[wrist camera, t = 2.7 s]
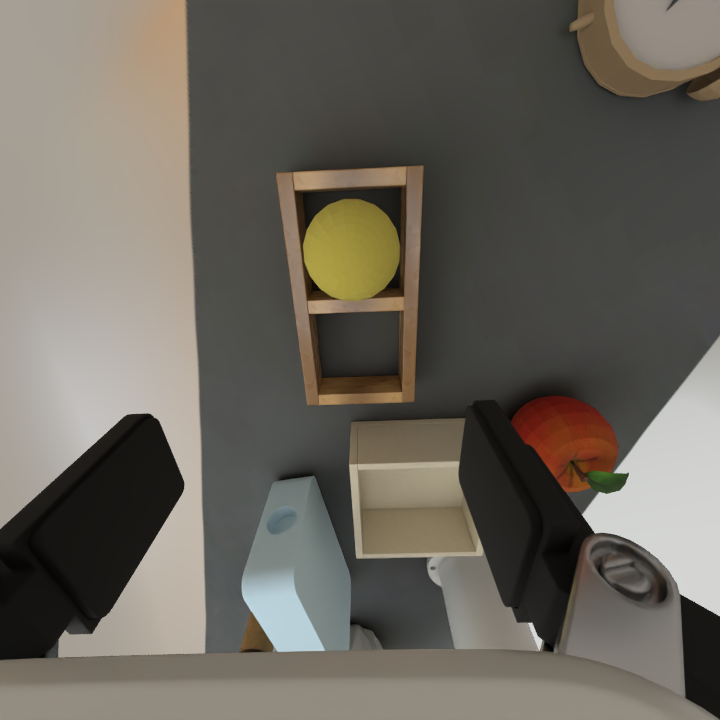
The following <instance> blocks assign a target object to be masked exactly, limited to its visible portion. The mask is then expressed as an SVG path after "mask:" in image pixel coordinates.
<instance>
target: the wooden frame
mask: <svg viewBox="0 0 720 720" xmlns="http://www.w3.org/2000/svg"><path fill="white" fill-rule="evenodd" d="M423 170H424V166H423V165H421V166H407V167H406V166H401V167H381V168H360V169H340V170H319V171H299V172H278V173H276V179H277V186H278V193H279V201H280V208H281V215H282V222H283V230H284V237H285V244H286V252H287V259H288V266H289V274H290V281H291V288H292V295H293V303H294V310H295V317H296V325H297V332H298V339H299V347H300V354H301V361H302V369H303V376H304V383H305V390H306V398H307V405H337V404H367V403H398V402H414V392H415V368H416V343H417V318H418V293H419V269H420V244H421V219H422V194H423ZM393 188H401V230H400V288H384V289H383V290H381V291H380V292H379V293H377V294H376V295H374V296H373V297H370V298H367V299H364V300H361V301H343V300H340V299H337V298H334V297H331V296H330V295H328V294H327V293H326V292H324V291H313V288H312V279H311V277H310V275H309V272H308V270H307V267H306V264H305V262H304V250H303V244H304V240H305V235H306V223H305V214H304V205H303V196H302V193H309V192H330V191H351V190H372V189H393ZM375 311H399V373H398V375H390V376H361V377H332V378H322V372H321V363H320V353H319V344H318V335H317V326H316V316H315V314H323V313H349V312H375Z"/></svg>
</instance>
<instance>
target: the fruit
mask: <svg viewBox="0 0 720 720" xmlns="http://www.w3.org/2000/svg"><path fill="white" fill-rule="evenodd" d="M511 424H512V425H513V427H514V428H515V429H516V431H517V432H518V434H519V435H520V437H521V438H522V440H523V441H524V443H525V444H529V445H531V446H532V447H533V448H534V449H535V450H536V452H537V453H538V454H539V456H540V457H541V459H542V460H543V461H544V463H545V464H546V466H547V467H548V468H549V470H550V471H551V473H552V474H553V475H554V477H555V478H556V480H557V481H558V482H559V484H560V485H561V487H562V488H563V489H564V491H565V492H577V491H583V490H586V489H588V488H591V487H592V488H593V489H594V490H595V491H599V492H602V493H606V494H607V493H611V492H615V491H619V490H620V489H621V488H622V487H623V486H624V485H625V483H626V480H627V478H628V475H629V473H627V474H617V473H611V471H612V469H613V467H614V465H615V462H616V459H617V456H618V449H619V446H618V443H617V440H616V437H615V434H614V431H613V429H612V426H611V425H610V424H609V423H608V422H607V421H606V419H605V418H604V417H603V416H602V415H601V414H600V413H599V412H598V411H597V410H596V409H595V408H593V407H591V406H590V405H588V404H587V403H584V402H582V401H579V400H577V399H575V398H571V397H566V396H555V395H553V396H547V397H541V398H536V399H534V400H532V401H530V402H528V403H526V404H525V405H524V406H522V407H521V408H520V409H519V410H518V411H517V412H516V414H515V415H514V416H513V418H512V420H511Z"/></svg>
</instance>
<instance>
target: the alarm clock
mask: <svg viewBox="0 0 720 720" xmlns="http://www.w3.org/2000/svg"><path fill="white" fill-rule="evenodd" d="M569 30H570V32H571V31H576V30H577V40H578V43H579V47H580V51H581V55H582V58H583V62H584V65H585V67H586V68H587V69H588V71H589V72H590V73H591V75H592V76H593V78H594V79H595V80H596V82H597V83H598V84H599V85H600V86H602V87H604V88H606V89H607V90H609V91H611V92H613V93H615V94H617V95H619V96H628V97H643V98H644V97H648V96H651V95H655V94H658V93H662V92H665V91H669V90H672V89H674V88H676V87H678V86H679V85H681V84H683V83H686V82H688V81H690V80H692V79H693V80H692V82H691V83H690V84H689V86H688V87H687V90H686V93H687V94H688V95H689V96H690V97H692V98H694V99H696V100H700V101H708V100H713V99H717V98H720V0H579V1H578V17H577V20H575V21H574V22H572V23H571V24H570V27H569Z"/></svg>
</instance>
